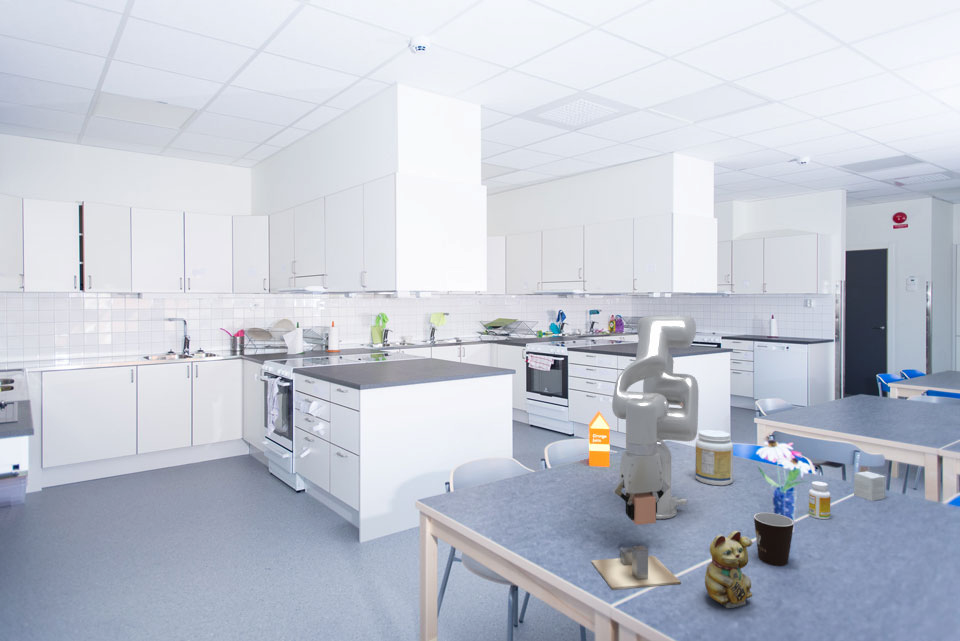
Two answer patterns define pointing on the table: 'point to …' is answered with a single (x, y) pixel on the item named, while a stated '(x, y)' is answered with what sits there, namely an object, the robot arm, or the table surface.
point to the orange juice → (599, 441)
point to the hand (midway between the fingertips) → (641, 516)
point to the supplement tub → (714, 457)
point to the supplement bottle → (819, 500)
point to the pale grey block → (869, 485)
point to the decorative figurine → (728, 570)
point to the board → (624, 579)
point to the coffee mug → (773, 538)
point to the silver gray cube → (626, 556)
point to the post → (640, 562)
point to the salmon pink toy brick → (644, 508)
